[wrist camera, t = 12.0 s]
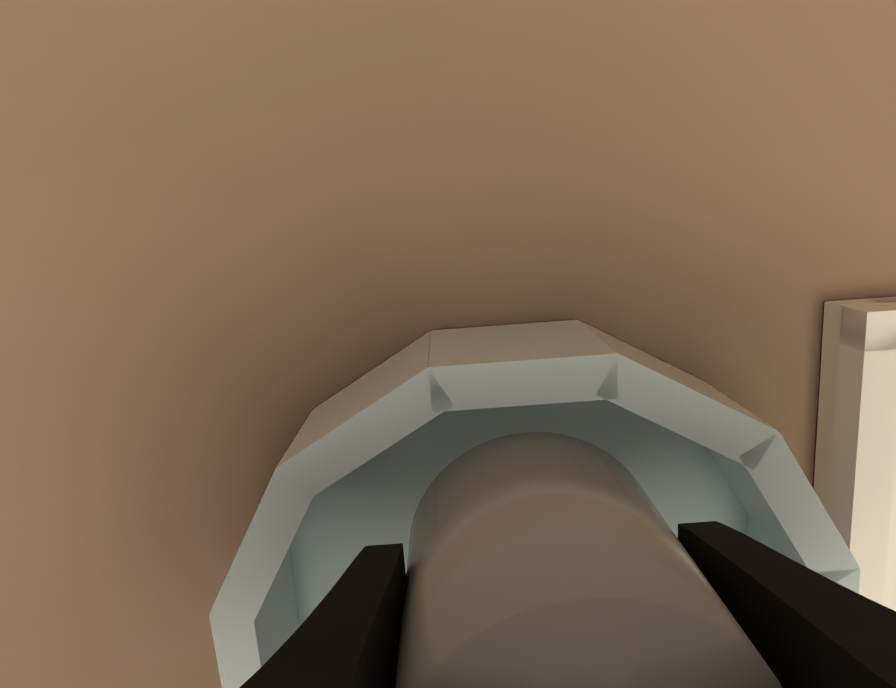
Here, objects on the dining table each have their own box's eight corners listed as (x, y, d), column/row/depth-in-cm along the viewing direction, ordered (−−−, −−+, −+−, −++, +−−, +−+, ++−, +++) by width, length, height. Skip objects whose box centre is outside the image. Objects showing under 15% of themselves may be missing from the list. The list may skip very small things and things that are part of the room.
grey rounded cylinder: (656, 647, 12) (792, 926, 7) (419, 664, 12) (405, 953, 7) (656, 422, 11) (813, 582, 6) (398, 441, 11) (366, 613, 6)
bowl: (759, 761, 16) (834, 894, 13) (298, 792, 16) (264, 931, 13) (778, 305, 14) (879, 334, 11) (230, 344, 14) (168, 386, 11)
